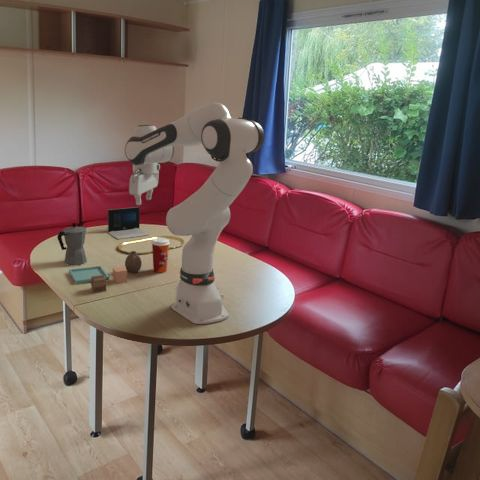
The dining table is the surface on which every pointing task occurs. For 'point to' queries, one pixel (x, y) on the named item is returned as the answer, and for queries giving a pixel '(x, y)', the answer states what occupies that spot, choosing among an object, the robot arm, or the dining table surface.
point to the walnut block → (98, 283)
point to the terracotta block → (120, 274)
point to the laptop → (124, 223)
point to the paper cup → (160, 254)
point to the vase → (133, 262)
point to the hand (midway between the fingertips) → (143, 202)
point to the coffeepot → (73, 244)
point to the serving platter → (149, 240)
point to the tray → (87, 274)
